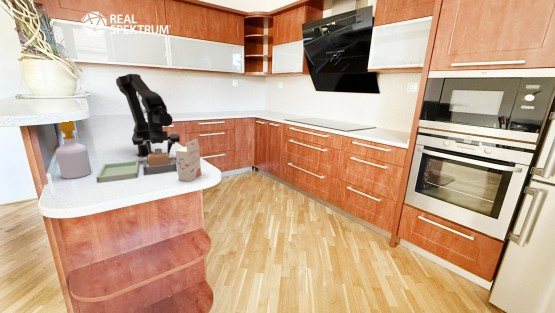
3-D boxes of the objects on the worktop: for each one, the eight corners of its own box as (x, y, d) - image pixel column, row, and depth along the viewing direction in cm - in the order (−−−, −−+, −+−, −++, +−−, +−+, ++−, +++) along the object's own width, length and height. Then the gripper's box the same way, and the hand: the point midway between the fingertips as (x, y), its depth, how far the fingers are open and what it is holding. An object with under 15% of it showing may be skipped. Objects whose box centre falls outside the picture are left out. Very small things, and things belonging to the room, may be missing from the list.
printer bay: (144, 168, 102) (143, 161, 102) (175, 165, 108) (174, 158, 107) (144, 175, 96) (143, 167, 95) (177, 171, 101) (176, 164, 100)
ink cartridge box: (190, 172, 99) (187, 137, 95) (201, 174, 98) (199, 138, 94) (177, 180, 91) (174, 142, 87) (190, 181, 90) (186, 143, 86)
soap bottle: (89, 169, 100) (76, 108, 93) (93, 175, 94) (80, 110, 87) (60, 174, 94) (45, 109, 87) (63, 181, 88) (46, 112, 81)
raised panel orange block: (168, 159, 116) (167, 147, 114) (169, 166, 106) (168, 154, 104) (149, 160, 113) (148, 149, 111) (149, 168, 103) (147, 156, 101)
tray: (104, 168, 101) (103, 164, 101) (139, 165, 107) (138, 160, 106) (97, 182, 87) (96, 177, 87) (137, 177, 93) (136, 172, 92)
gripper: (129, 128, 98) (135, 164, 102) (179, 125, 106) (182, 160, 110) (131, 123, 107) (136, 157, 112) (177, 121, 115) (179, 153, 120)
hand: (159, 157), depth 113 cm, fingers open, 7 cm apart
